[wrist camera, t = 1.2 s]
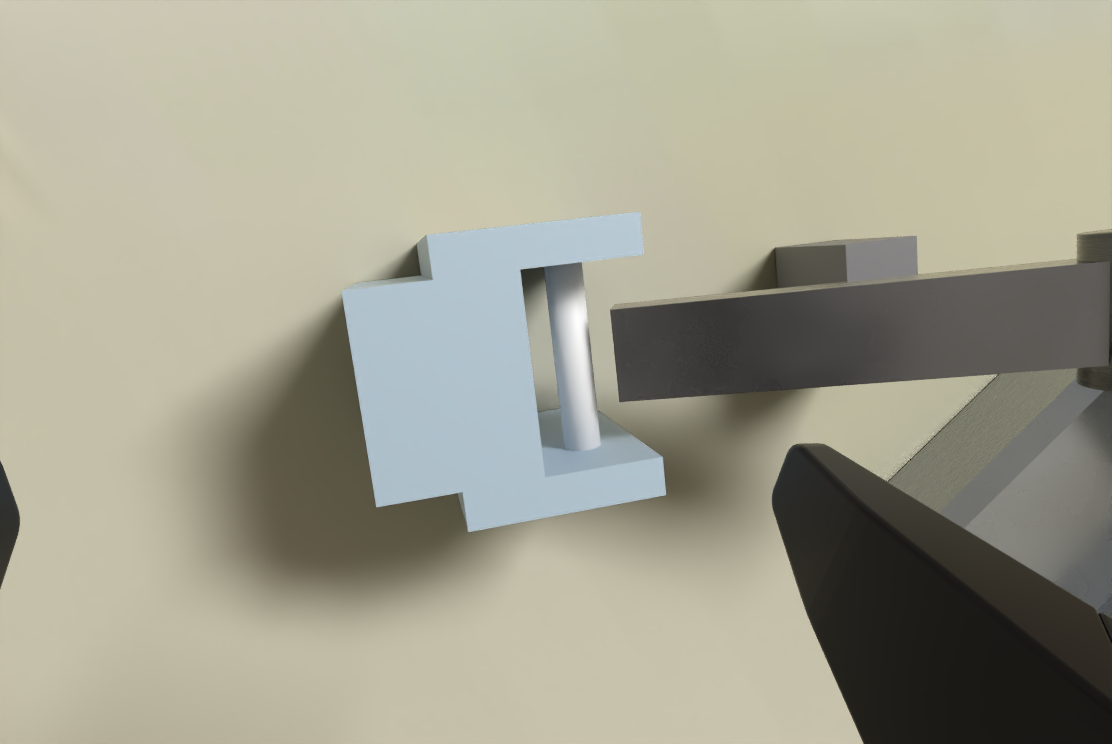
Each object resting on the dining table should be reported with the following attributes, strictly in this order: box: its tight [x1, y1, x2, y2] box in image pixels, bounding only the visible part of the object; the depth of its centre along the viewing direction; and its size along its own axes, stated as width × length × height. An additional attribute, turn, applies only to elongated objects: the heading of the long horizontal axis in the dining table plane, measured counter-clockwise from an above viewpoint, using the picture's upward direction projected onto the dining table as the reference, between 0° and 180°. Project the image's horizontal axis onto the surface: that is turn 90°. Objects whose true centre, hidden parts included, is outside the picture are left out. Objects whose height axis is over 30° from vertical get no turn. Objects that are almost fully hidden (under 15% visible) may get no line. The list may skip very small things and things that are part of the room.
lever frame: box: [341, 212, 918, 532], centre depth 22 cm, size 7×17×7 cm, turn 97°
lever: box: [610, 229, 1112, 402], centre depth 18 cm, size 4×14×2 cm, turn 97°
